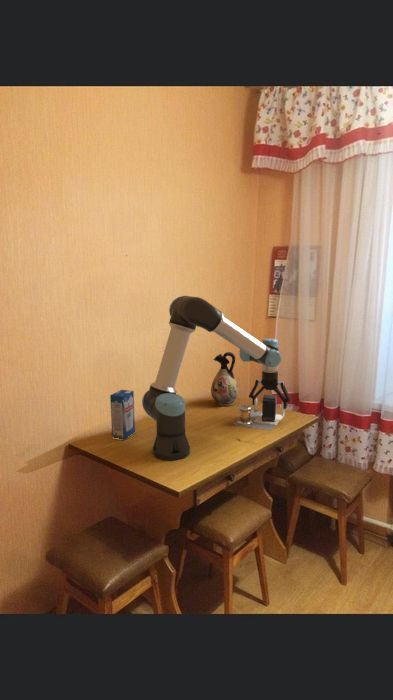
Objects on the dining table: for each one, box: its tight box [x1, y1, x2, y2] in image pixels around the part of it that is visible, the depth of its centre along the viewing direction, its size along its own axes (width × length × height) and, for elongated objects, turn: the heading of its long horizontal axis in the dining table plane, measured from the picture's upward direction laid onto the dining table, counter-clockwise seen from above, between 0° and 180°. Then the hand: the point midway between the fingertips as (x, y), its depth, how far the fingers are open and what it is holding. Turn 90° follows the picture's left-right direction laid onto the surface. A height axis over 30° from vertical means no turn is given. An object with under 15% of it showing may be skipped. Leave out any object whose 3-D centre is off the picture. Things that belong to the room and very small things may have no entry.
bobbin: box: [237, 404, 253, 425], centre depth 204 cm, size 7×7×8 cm
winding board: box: [232, 410, 286, 431], centre depth 210 cm, size 19×24×2 cm
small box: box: [261, 394, 277, 422], centre depth 209 cm, size 11×6×10 cm, turn 167°
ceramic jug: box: [210, 351, 239, 407], centre depth 238 cm, size 17×15×30 cm
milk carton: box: [109, 389, 136, 440], centre depth 192 cm, size 10×6×20 cm, turn 160°
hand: (269, 413), depth 209 cm, fingers open, 13 cm apart
